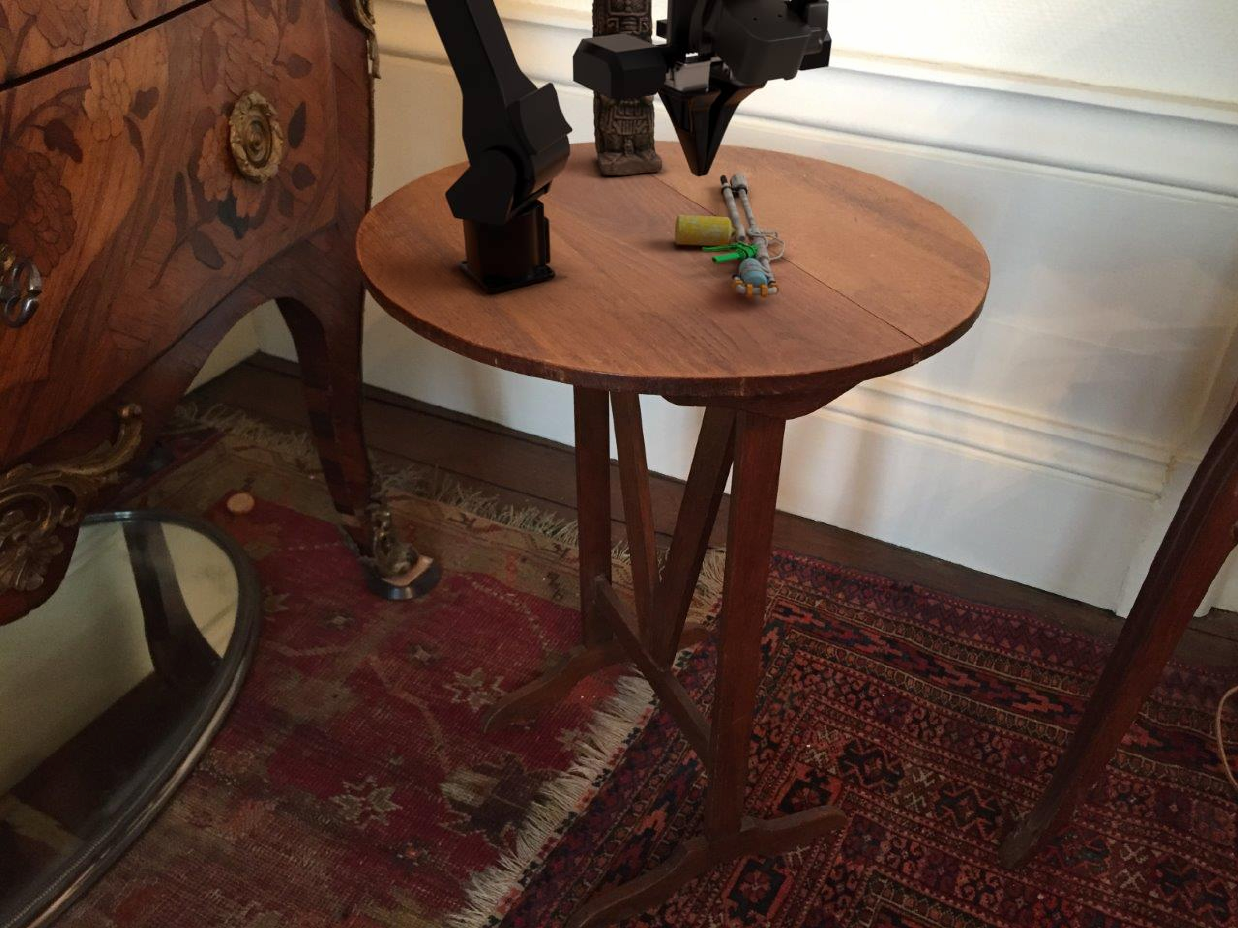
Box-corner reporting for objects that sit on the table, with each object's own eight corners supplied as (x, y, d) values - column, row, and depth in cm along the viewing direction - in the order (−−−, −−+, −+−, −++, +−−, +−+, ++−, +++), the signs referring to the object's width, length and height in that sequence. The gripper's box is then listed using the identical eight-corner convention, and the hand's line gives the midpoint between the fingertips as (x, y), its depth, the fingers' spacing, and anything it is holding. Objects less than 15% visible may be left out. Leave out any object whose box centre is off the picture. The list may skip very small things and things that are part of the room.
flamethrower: (682, 305, 78) (804, 311, 79) (686, 275, 77) (809, 281, 77) (665, 187, 102) (759, 192, 103) (668, 162, 101) (762, 167, 101)
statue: (602, 178, 104) (601, -26, 93) (588, 157, 110) (586, -38, 98) (663, 173, 106) (669, -29, 94) (646, 153, 111) (650, -40, 99)
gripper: (662, -29, 54) (654, 235, 63) (904, -53, 62) (865, 185, 71) (566, -56, 61) (571, 184, 71) (792, -73, 69) (770, 144, 79)
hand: (699, 174), depth 72 cm, fingers closed
